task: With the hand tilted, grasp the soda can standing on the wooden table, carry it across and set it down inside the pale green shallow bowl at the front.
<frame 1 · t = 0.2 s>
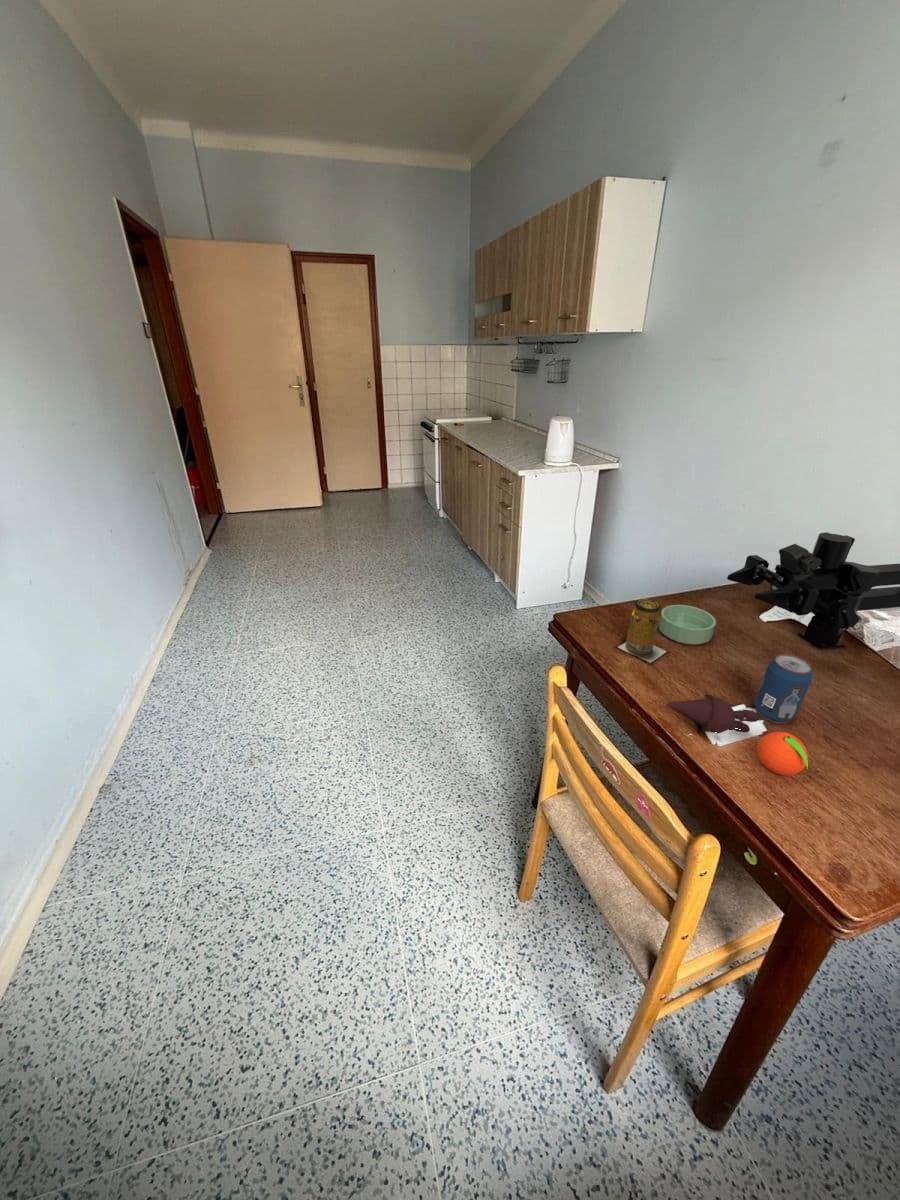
hand: (741, 586, 103), 17 cm above the table, tool horizontal, fingers open, 9 cm apart
icecream: (706, 728, 89), on the table
soda can: (772, 714, 92), on the table
condiment: (641, 650, 111), on the table
pale green shallow bowl: (684, 632, 118), on the table
clementine: (777, 771, 79), on the table
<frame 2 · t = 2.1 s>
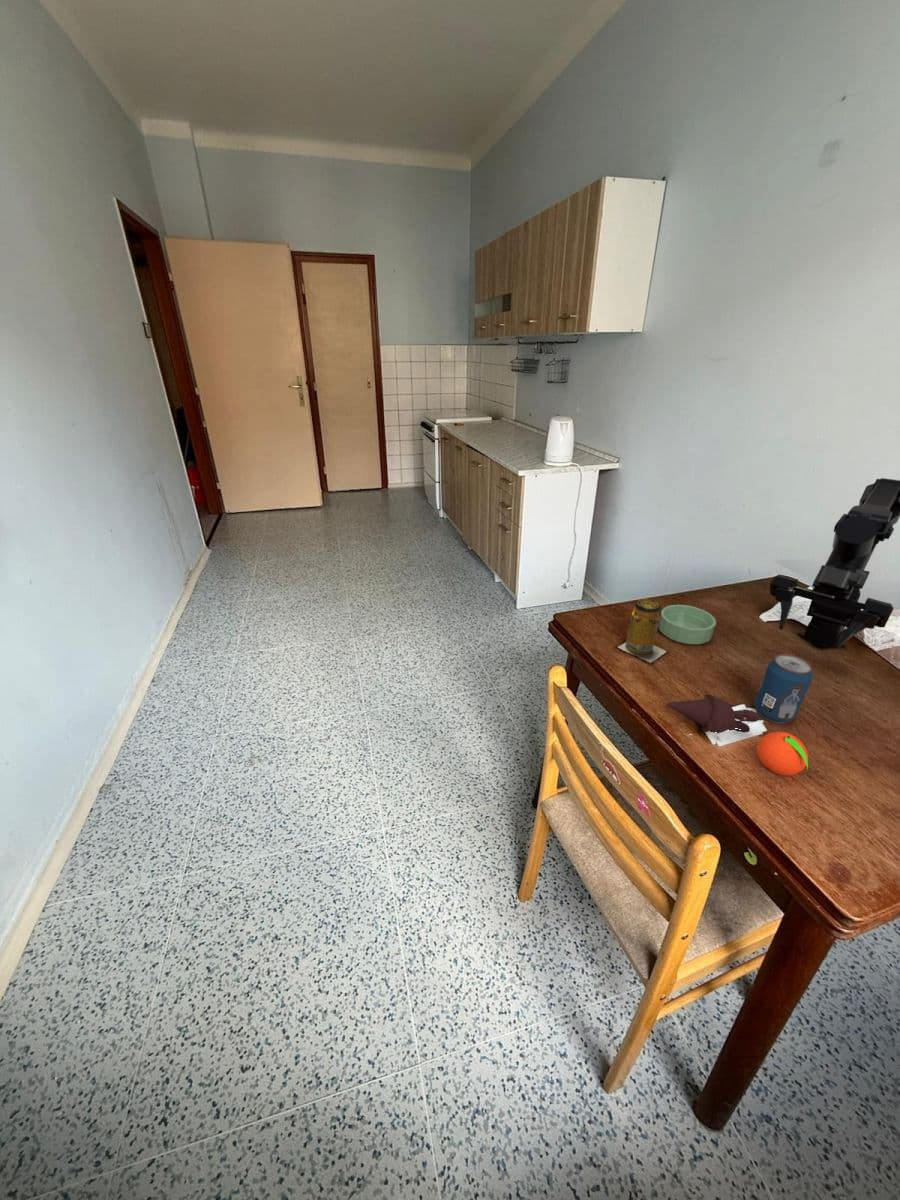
hand: (807, 637, 90), 14 cm above the table, tool tilted 45°, fingers open, 9 cm apart
nothing on the table moved.
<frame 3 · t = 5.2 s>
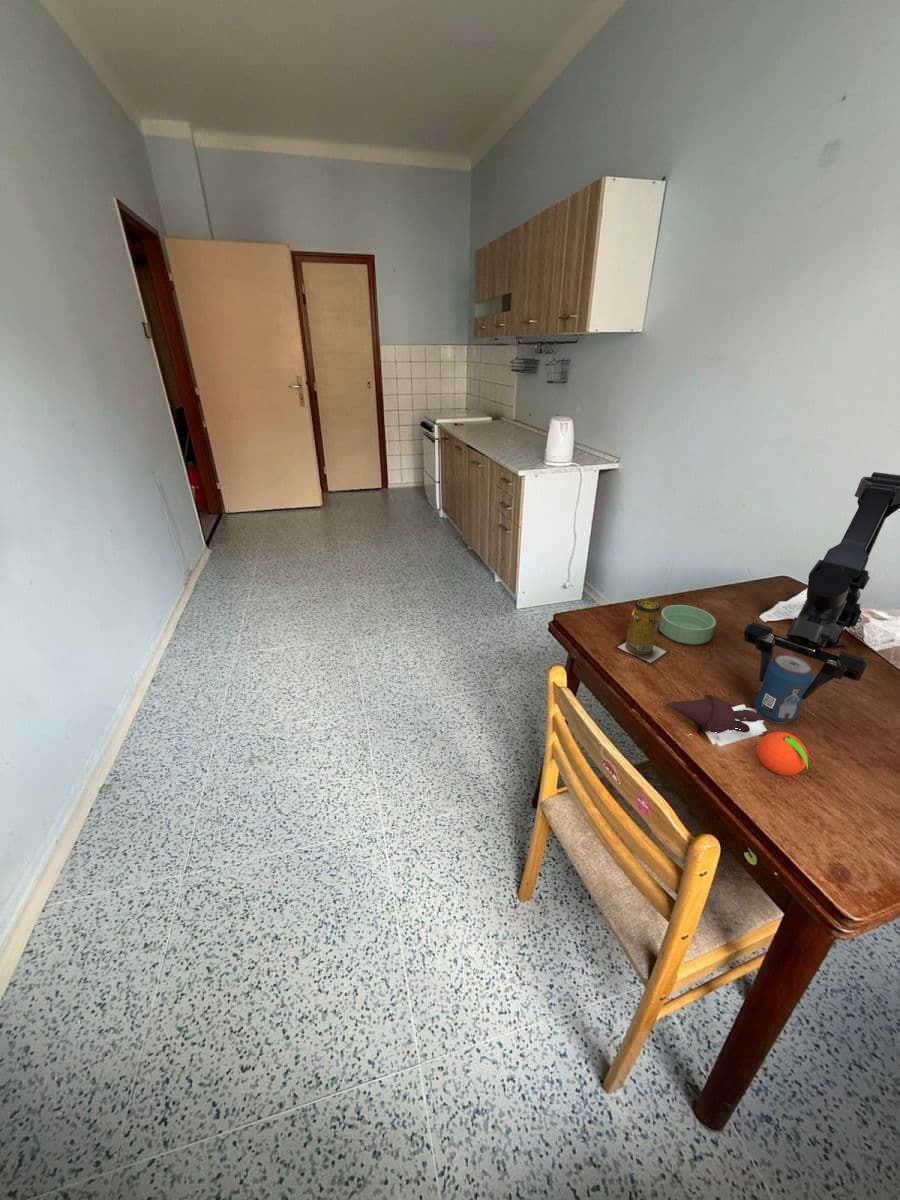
hand: (781, 689, 88), 7 cm above the table, tool tilted 45°, fingers closed on soda can, 7 cm apart
soda can: (772, 714, 92), on the table, touching gripper
everything else where it was.
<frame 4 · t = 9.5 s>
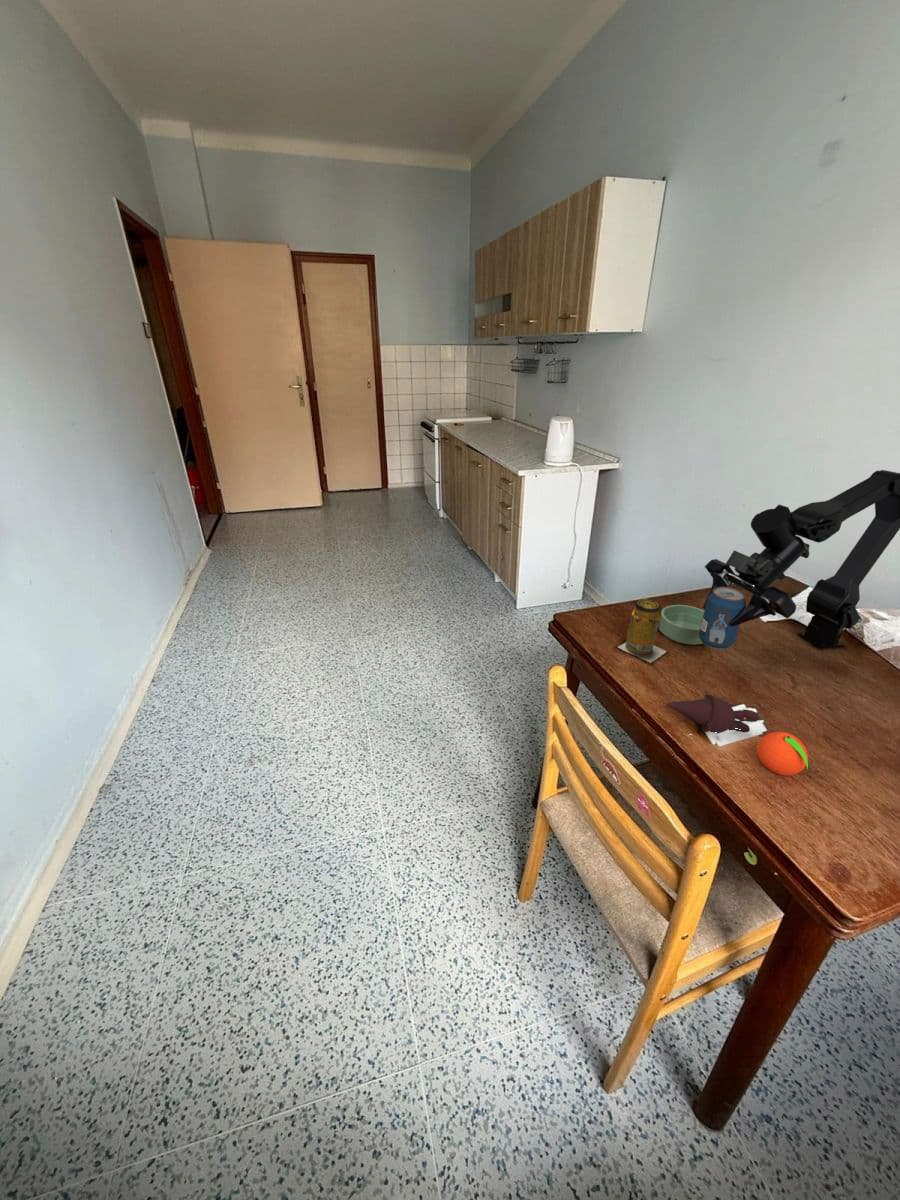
hand: (717, 616, 98), 13 cm above the table, tool tilted 45°, fingers closed on soda can, 7 cm apart
soda can: (714, 642, 102), point 7 cm above the table, touching gripper
everything else where it was.
when the fingers open (7 cm above the table, at t = 14.0 s): soda can stays where it is, resting on pale green shallow bowl.
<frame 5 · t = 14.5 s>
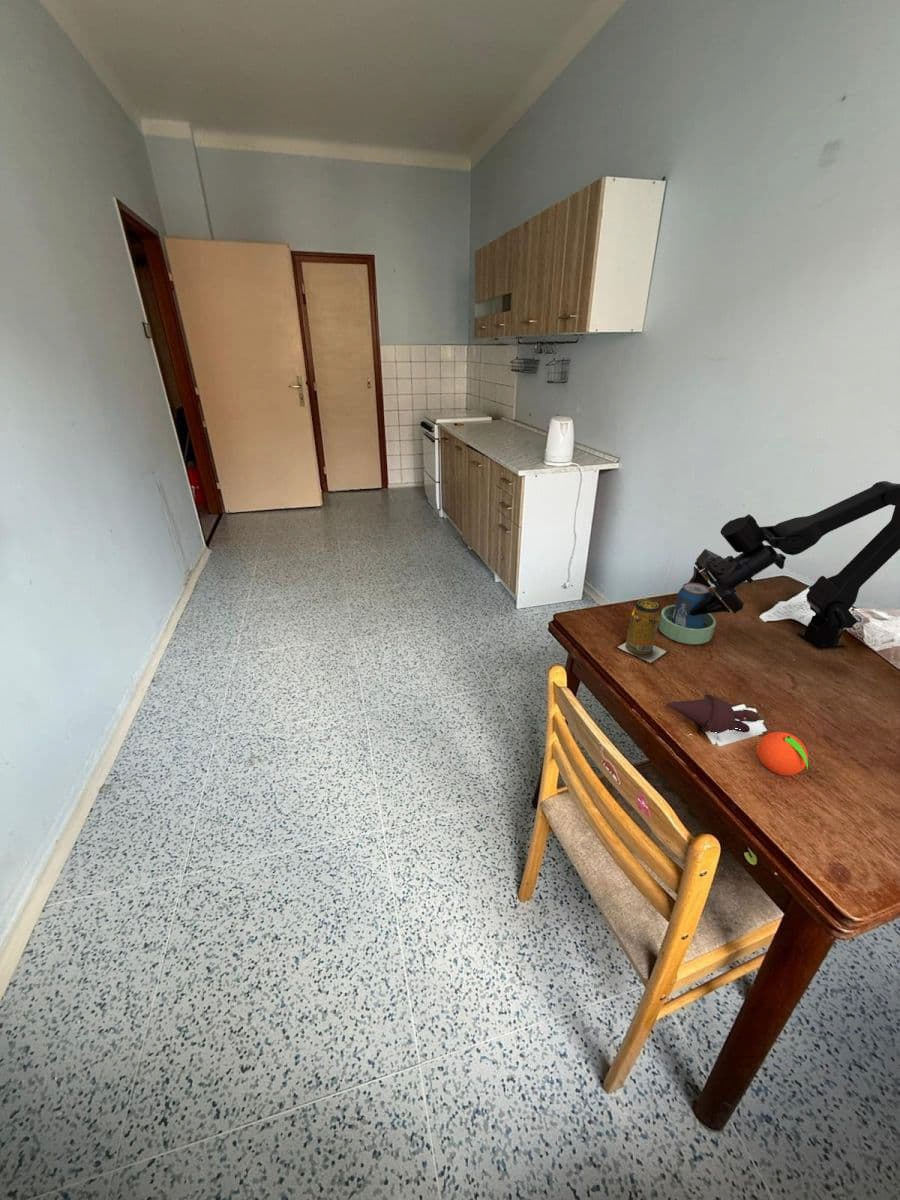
hand: (684, 604, 114), 8 cm above the table, tool tilted 45°, fingers open, 9 cm apart
soda can: (685, 631, 118), resting on pale green shallow bowl
everything else where it was.
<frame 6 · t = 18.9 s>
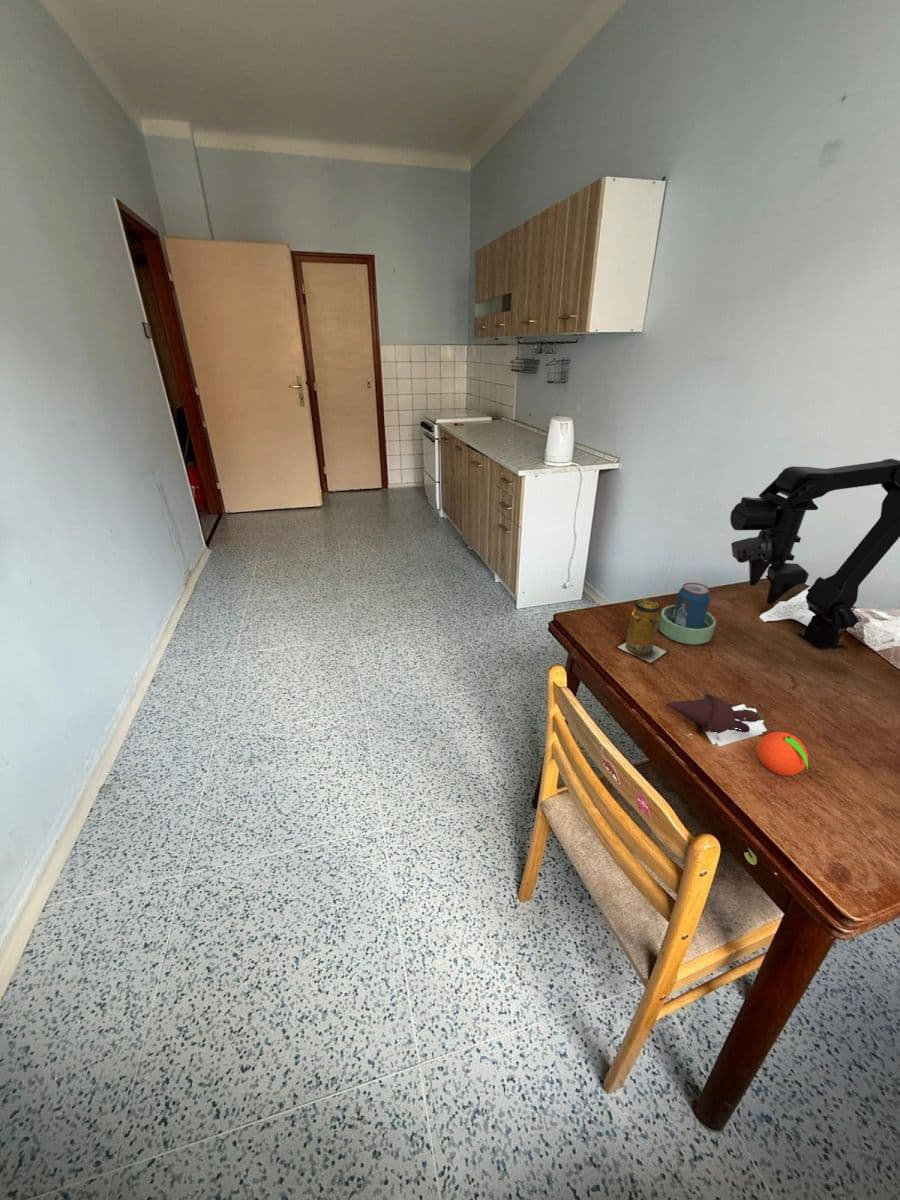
hand: (760, 594, 107), 13 cm above the table, tool pointing down, fingers open, 9 cm apart
nothing on the table moved.
at the end: soda can 0.1 cm off-centre in the pale green shallow bowl, point 0.3 cm above the pale green shallow bowl's base; soda can tilted 0°; the gripper is holding nothing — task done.
